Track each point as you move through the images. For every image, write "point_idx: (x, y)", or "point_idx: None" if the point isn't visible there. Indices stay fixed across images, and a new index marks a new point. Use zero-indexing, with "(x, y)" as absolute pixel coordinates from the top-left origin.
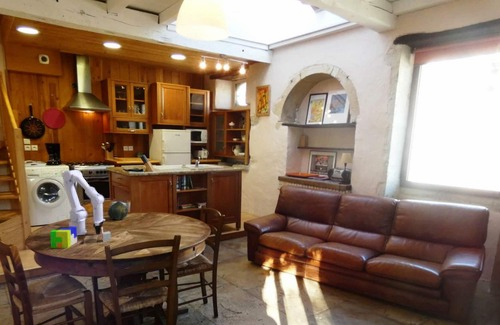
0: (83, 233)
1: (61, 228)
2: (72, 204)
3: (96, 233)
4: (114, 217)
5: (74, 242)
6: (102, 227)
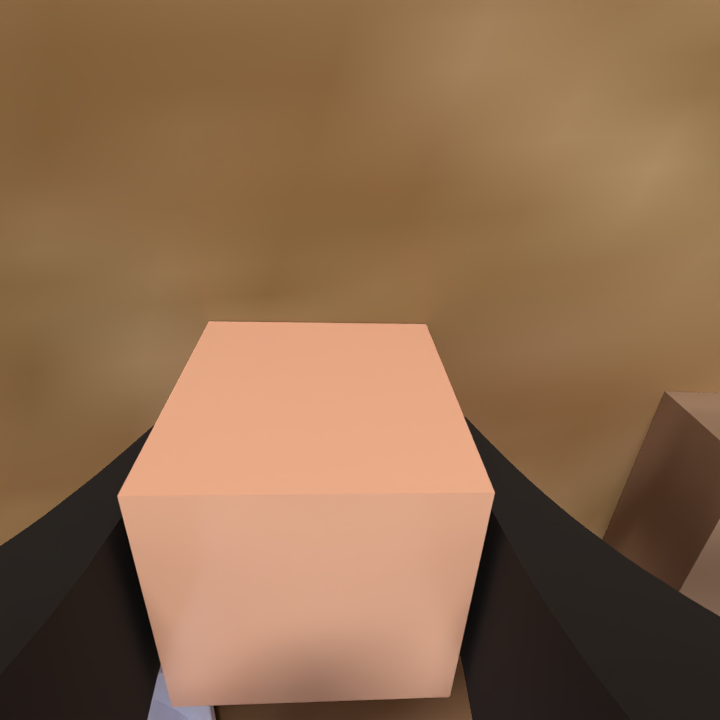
0: (162, 694)
1: None
2: None
3: None
4: None
5: None
6: (264, 490)
